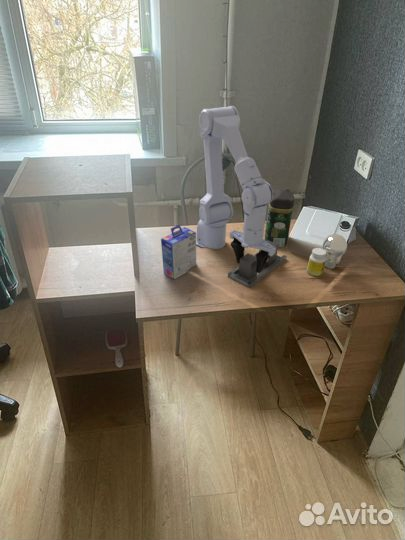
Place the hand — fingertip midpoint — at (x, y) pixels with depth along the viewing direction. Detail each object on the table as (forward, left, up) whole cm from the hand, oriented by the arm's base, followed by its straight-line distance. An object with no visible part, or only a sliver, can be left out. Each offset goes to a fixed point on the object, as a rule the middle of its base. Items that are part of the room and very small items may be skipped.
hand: (249, 266), depth 116 cm
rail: (0, +5, -4) cm, 6 cm away
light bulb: (+16, +21, -4) cm, 27 cm away
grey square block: (0, 0, -3) cm, 3 cm away
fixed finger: (0, +10, -3) cm, 10 cm away
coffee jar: (-5, +23, -4) cm, 24 cm away
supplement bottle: (+14, +15, -4) cm, 21 cm away
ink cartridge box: (-18, -11, -4) cm, 22 cm away
